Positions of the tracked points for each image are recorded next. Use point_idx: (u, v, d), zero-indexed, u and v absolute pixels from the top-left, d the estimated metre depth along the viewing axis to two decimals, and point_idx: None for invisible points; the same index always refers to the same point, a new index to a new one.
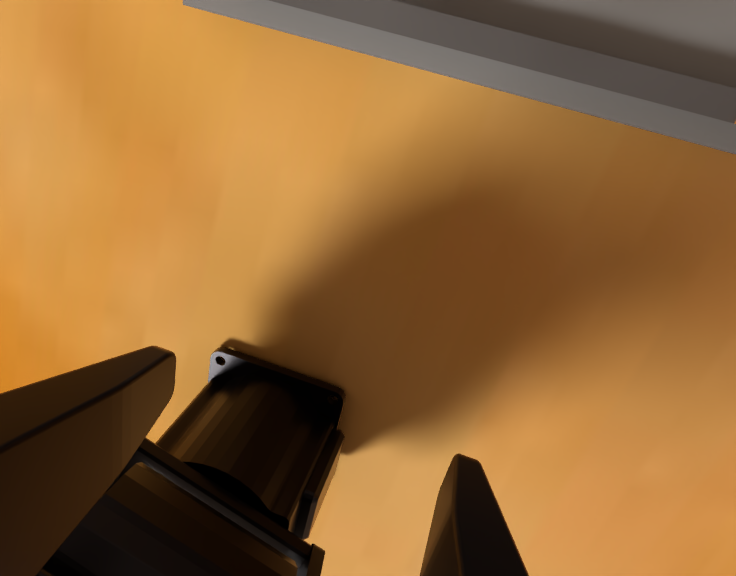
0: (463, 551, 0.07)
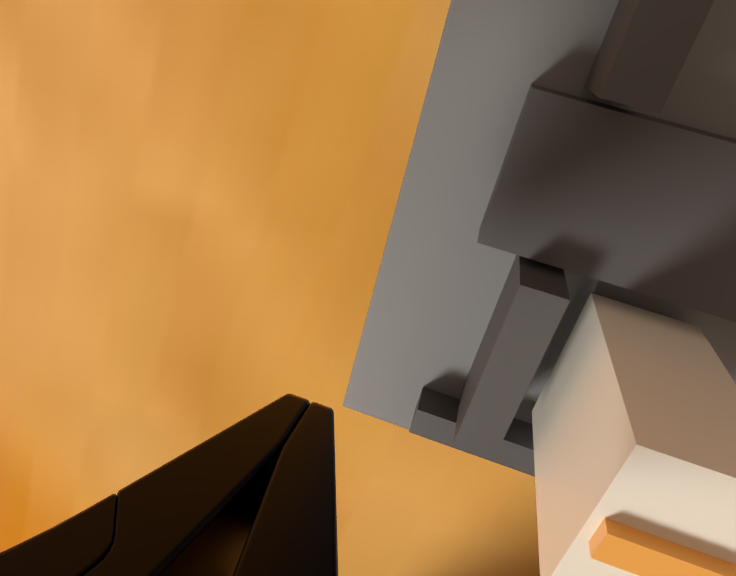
0: (275, 480, 0.07)
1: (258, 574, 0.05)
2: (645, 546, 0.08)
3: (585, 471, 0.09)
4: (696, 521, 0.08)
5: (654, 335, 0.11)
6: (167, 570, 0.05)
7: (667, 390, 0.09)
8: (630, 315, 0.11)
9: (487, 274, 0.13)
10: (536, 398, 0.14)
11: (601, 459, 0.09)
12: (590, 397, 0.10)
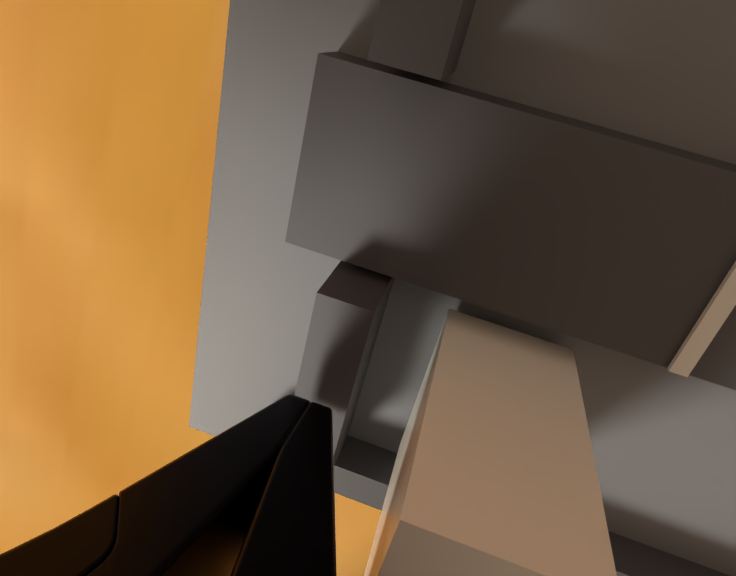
0: (274, 480, 0.07)
1: (256, 573, 0.05)
2: None
3: (383, 537, 0.07)
4: None
5: (506, 362, 0.09)
6: (169, 571, 0.05)
7: (487, 437, 0.07)
8: (488, 336, 0.09)
9: (319, 279, 0.11)
10: (390, 422, 0.12)
11: (390, 527, 0.07)
12: (411, 440, 0.08)
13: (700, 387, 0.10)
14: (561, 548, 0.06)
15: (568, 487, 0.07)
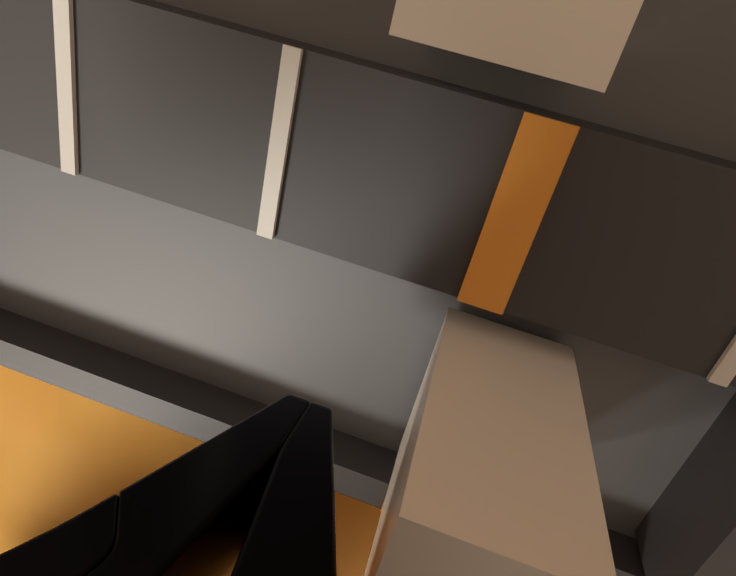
0: (274, 480, 0.07)
1: (256, 574, 0.05)
2: None
3: (383, 534, 0.07)
4: None
5: (506, 360, 0.09)
6: (169, 571, 0.05)
7: (486, 434, 0.07)
8: (487, 334, 0.10)
9: None
10: None
11: (389, 524, 0.07)
12: (412, 438, 0.08)
13: (151, 205, 0.11)
14: (560, 544, 0.06)
15: (566, 484, 0.07)
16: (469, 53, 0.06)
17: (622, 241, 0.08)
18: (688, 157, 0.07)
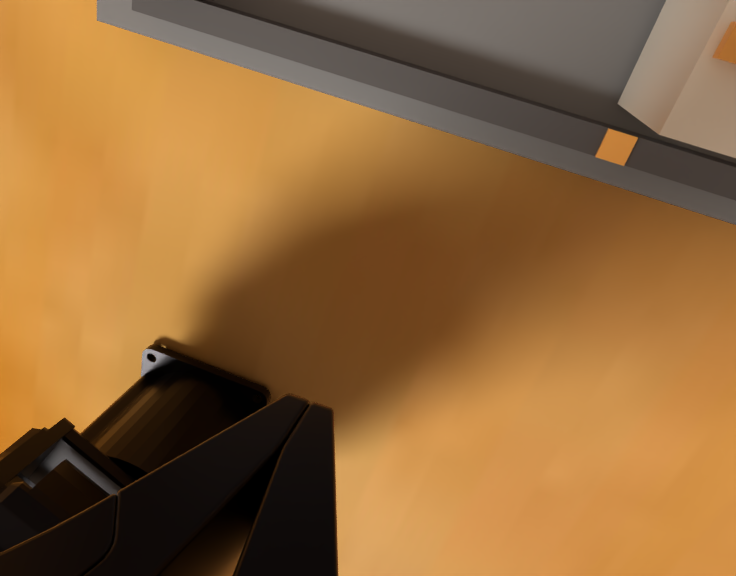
0: (275, 480, 0.07)
1: (258, 574, 0.05)
2: None
3: (704, 19, 0.10)
4: None
5: None
6: (167, 570, 0.05)
7: None
8: None
9: None
10: None
11: None
12: None
13: None
14: None
15: None
16: None
17: None
18: None
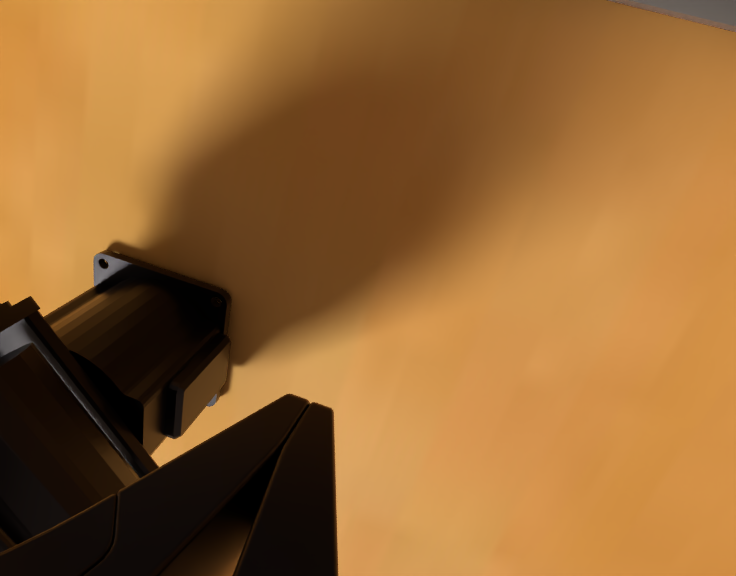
0: (275, 480, 0.07)
1: (258, 574, 0.05)
2: None
3: None
4: None
5: None
6: (167, 570, 0.05)
7: None
8: None
9: None
10: None
11: None
12: None
13: None
14: None
15: None
16: None
17: None
18: None
